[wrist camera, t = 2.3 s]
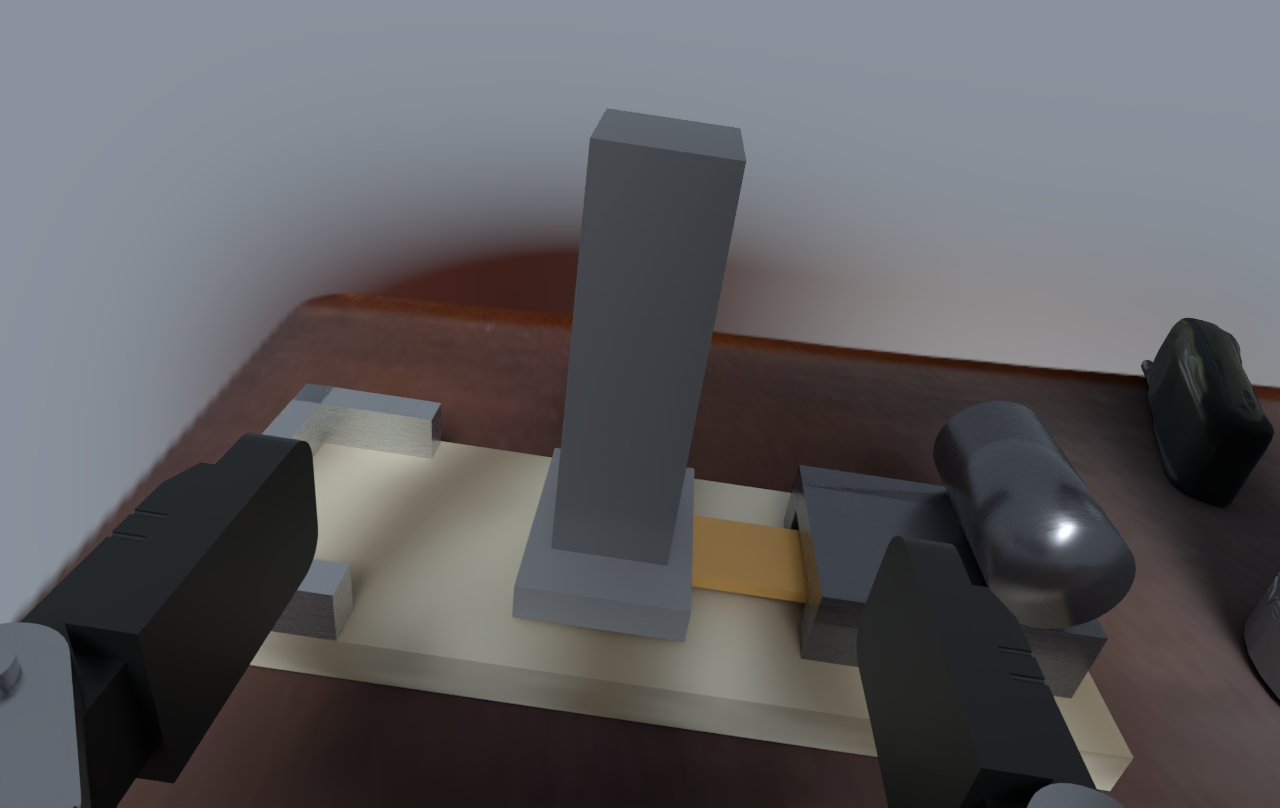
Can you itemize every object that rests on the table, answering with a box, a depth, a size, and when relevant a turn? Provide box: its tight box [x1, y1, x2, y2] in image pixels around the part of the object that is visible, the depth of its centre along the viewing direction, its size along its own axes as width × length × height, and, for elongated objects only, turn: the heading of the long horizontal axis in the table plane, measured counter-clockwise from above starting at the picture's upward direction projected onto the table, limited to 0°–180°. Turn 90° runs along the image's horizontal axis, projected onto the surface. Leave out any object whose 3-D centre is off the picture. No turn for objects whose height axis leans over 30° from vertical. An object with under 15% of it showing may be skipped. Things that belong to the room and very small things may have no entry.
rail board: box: [250, 441, 1133, 791], centre depth 27 cm, size 27×10×2 cm, turn 86°
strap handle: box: [512, 109, 809, 642], centre depth 23 cm, size 17×7×13 cm, turn 86°
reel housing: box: [783, 401, 1136, 699], centre depth 25 cm, size 8×6×6 cm
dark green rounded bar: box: [1141, 318, 1274, 506], centre depth 42 cm, size 5×3×15 cm
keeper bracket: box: [262, 383, 441, 641], centre depth 26 cm, size 5×10×2 cm, turn 176°
